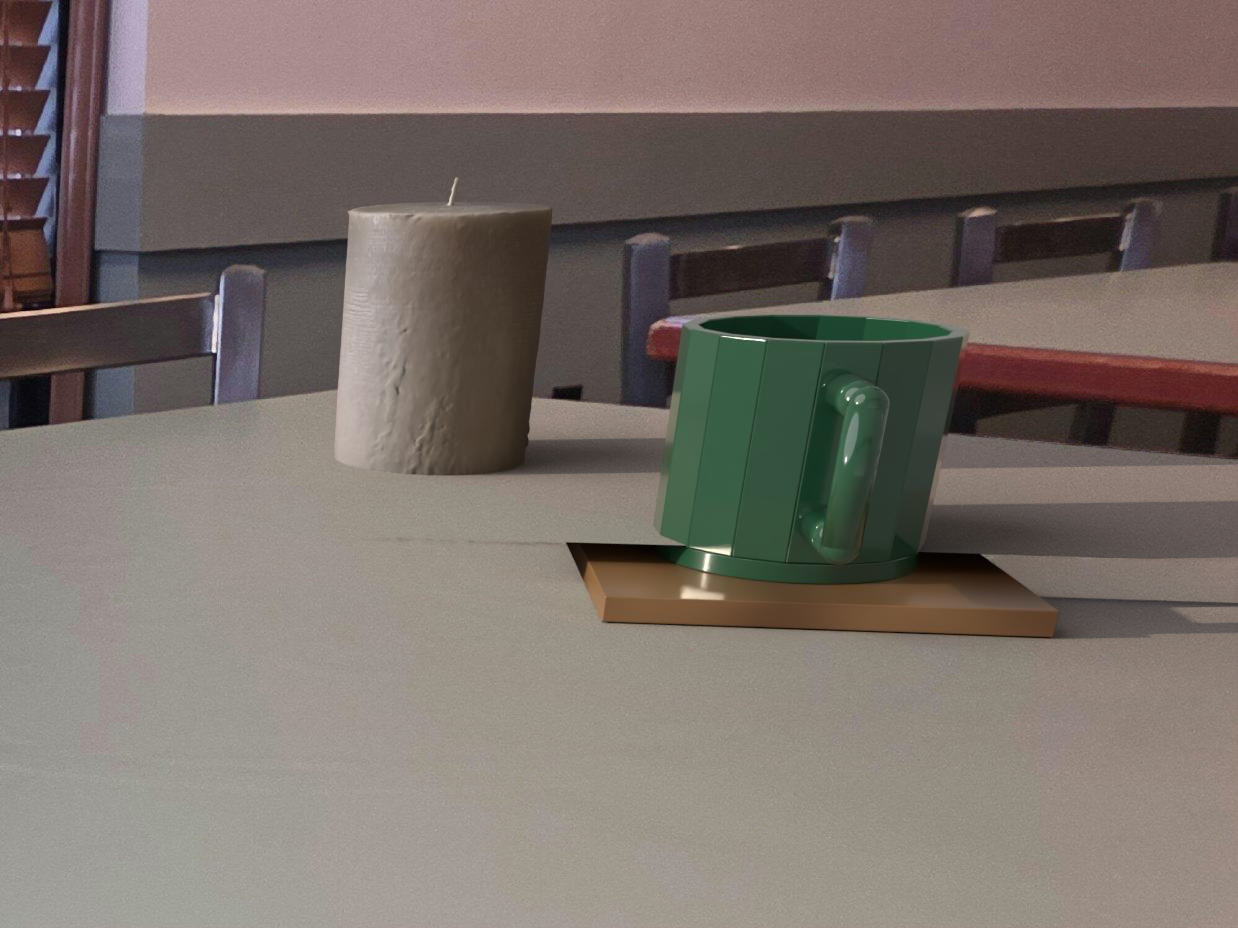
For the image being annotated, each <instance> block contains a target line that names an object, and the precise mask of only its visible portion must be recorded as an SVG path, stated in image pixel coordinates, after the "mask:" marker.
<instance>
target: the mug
mask: <svg viewBox="0 0 1238 928" xmlns="http://www.w3.org/2000/svg"><path fill="white" fill-rule="evenodd" d="M680 331H681V332H680V338H679V344H678V345H679V346H678V352H677V357H676V358H677V360H676V366H675V373H674V380H673V387H672V391H671V392H672V393H671V400H670V405H669V406H670V407H669V414H668V419H667V420H668V421H667V428H666V434H665V441H664V449H663V454H662V461H661V468H660V475H659V483H658V489H657V490H658V491H657V496H656V503H655V509H654V515H653V523H652V525H653V527H654V529H655V530H656V531H657V533H658V534H659V536H661V537H664V538H666V539H669V540H671V541H673V542H676V543H679V544H651V545H652V547H653V550H654V551H655V552H656V554H658V555H659V556H661V557H662V558H664V559H666V560H668V561H670V562H673V563H675V564H678V565H681V566H684V567H688V568H691V569H695V570H699V571H703V572H707V573H712V574H717V575H723V576H729V577H735V578H742V579H750V580H758V581H768V582H779V583H794V584H858V583H870V582H878V581H885V580H890V579H895V578H899V577H902V576H905V575H908V574H910V573H912V572H913V571H914V570H916V569H917V567H918V564H919V559H920V554H921V552H922V551H920V550H921V549H922V547H924V544H925V543H926V540H927V534H928V530H929V526H930V521H931V516H932V512H933V508H934V503H935V497H936V492H937V488H938V483H939V478H940V475H941V470H942V465H943V460H944V455H945V451H946V446H947V441H948V437H949V432H950V428H951V422H952V418H953V413H954V408H955V403H956V399H957V394H958V389H959V384H960V379H961V375H962V370H963V366H964V362H965V358H966V353H967V347H968V342H969V339H970V331H969V330H967V329H964V328H962V327H959V326H956V325H953V324H949V323H942V322H935V321H931V320H930V321H929V320H922V319H915V318H914V319H913V318H911V319H910V318H900V317H890V316H879V315H859V314H838V313H837V314H835V313H747V314H745V313H744V314H727V315H717V316H708V317H700V318H694V319H691V320H689V321H686V322H684V323H682V325H681V330H680ZM680 544H681V545H680Z"/></svg>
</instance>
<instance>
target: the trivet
mask: <svg viewBox="0 0 1238 928" xmlns="http://www.w3.org/2000/svg"><path fill="white" fill-rule="evenodd" d="M565 544H566V546H567V548H568V550H569V552H570V555H571V557H572V560H573V561H574V563H575V565H576V568H577V571H578V572H579V574H580V576H581V579H582V581H583V584H584V585H585V587H586V589H587V592H588V594H589V596H590V598H591V601H592V602H593V605H594V607H595V610H596V611H597V613H598V616H599V618H600V620H601V621H602V622H606V623H607V622H608V623H630V624H631V623H633V624H635V623H636V624H663V625H690V626H716V627H717V626H720V627H745V628H746V627H748V628H777V629H804V630H805V629H806V630H830V631H831V630H835V631H836V630H837V631H861V632H863V631H864V632H890V633H915V634H916V633H922V634H923V633H924V634H943V635H945V634H946V635H947V634H949V635H972V636H973V635H975V636H976V635H977V636H1005V637H1033V638H1034V637H1035V638H1053V637H1054V636H1055V631H1056V628H1057V623H1058V619H1059V616H1060V610H1058V609H1057V608H1056V607H1054V606H1053V605H1051V604H1050V603H1049V602H1047V600H1045V599H1043V598H1042V597H1040V596H1039V595H1037V594H1036V592H1033V591H1032V590H1031V589H1030V588H1028V587H1026V586H1025V584H1023V583H1021V582H1020V581H1018V580H1017V579H1015V578H1014V577H1013V576H1012V575H1010V574H1009V573H1007V572H1006V571H1005V570H1004V569H1002V568H1001V567H999V566H998V565H996V563H994V562H992V561H990V559H988V558H987V557H985V556H984V555H982V554H981V553H973V552H972V553H971V552H941V551H940V552H937V551H936V552H935V551H920V552H921V554H920V559H919V564H918V567H917V569H916V570H914V571H913V572H912V573H910V574H908V575H905V576H902V577H899V578H895V579H890V580H885V581H878V582H870V583H858V584H794V583H779V582H768V581H758V580H750V579H742V578H735V577H729V576H723V575H717V574H712V573H707V572H703V571H699V570H695V569H691V568H688V567H684V566H681V565H678V564H675V563H673V562H670V561H668V560H666V559H664V558H662V557H661V556H659V555H658V554H656V552H655V551H654V550H653V547H652V545H653V544H647V543H646V544H645V543H612V542H609V543H607V542H575V541H574V542H572V541H568V542H567V541H565Z"/></svg>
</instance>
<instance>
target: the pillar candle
mask: <svg viewBox="0 0 1238 928" xmlns="http://www.w3.org/2000/svg"><path fill="white" fill-rule="evenodd" d="M460 182H461V178H460V177H455V179H454V180H453V184H452V187H451V194H450V196H449V199H448V200H449V201H431V202H402V203H399V202H398V203H391V204H389V203H388V204H387V203H386V204H376V205H369V206H361V207H355V208H353V209H350V210H347V214H348V229H347V248H346V249H347V250H346V261H345V279H344V293H343V306H342V307H343V309H342V325H341V340H340V352H339V365H338V366H339V367H338V381H337V393H336V395H337V396H336V415H335V430H334V431H335V433H334V453H333V456H334V458H335V460H336V461H337V462H339V463H341V464H343V465H346V466H350V467H354V468H358V469H362V470H367V471H375V472H383V473H390V474H391V473H392V474H401V475H417V476H418V475H420V476H473V475H486V474H495V473H501V472H506V471H511V470H514V469H516V468H518V467H521V466H522V465H523V464H524V463H525V458H526V457H525V456H526V452H527V447H528V446H529V434H530V429H531V427H530V426H531V425H530V420H531V412H532V403H533V393H534V385H535V373H536V367H537V360H538V359H537V358H538V354H539V353H538V352H539V345H540V338H541V326H542V318H543V317H542V316H543V309H544V302H545V301H544V300H545V291H546V281H547V280H546V279H547V270H548V269H547V268H548V261H549V254H550V246H551V245H550V243H551V234H552V221H553V207H552V206H551V205H545V204H539V203H537V204H536V203H524V202H523V203H519V202H504V201H503V202H502V201H455V198H456V194H457V190H458V187H459V185H460Z"/></svg>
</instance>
